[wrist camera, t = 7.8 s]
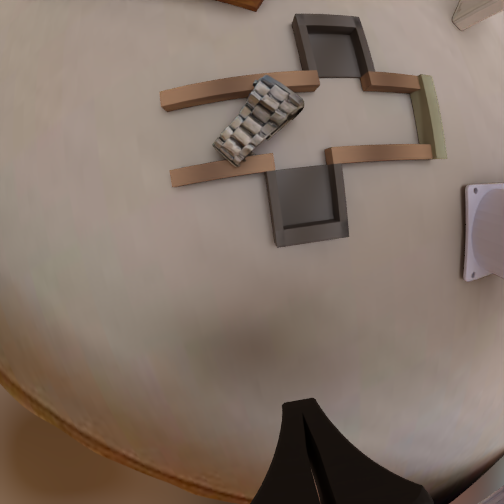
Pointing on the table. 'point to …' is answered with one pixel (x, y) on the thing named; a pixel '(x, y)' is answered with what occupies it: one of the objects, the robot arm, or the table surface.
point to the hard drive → (475, 11)
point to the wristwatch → (258, 119)
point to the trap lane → (331, 175)
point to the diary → (245, 3)
